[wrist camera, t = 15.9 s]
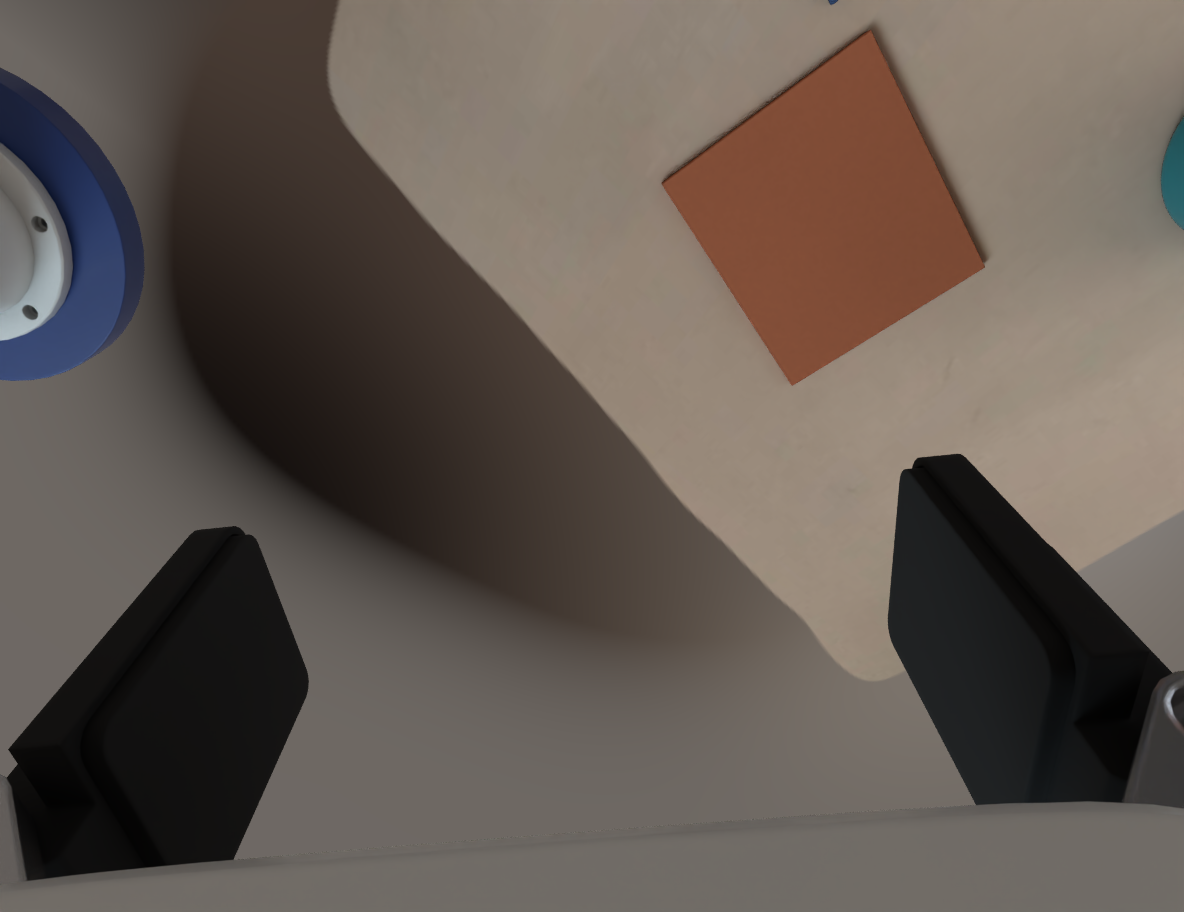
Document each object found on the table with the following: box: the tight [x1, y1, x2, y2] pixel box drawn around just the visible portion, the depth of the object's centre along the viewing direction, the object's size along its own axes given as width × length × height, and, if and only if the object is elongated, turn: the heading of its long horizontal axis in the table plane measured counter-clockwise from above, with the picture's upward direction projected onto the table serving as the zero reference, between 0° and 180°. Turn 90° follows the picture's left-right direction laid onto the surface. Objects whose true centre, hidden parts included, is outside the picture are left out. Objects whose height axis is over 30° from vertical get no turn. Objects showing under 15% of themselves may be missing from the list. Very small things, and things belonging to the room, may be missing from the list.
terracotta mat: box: [662, 30, 985, 386], centre depth 41 cm, size 14×12×1 cm
